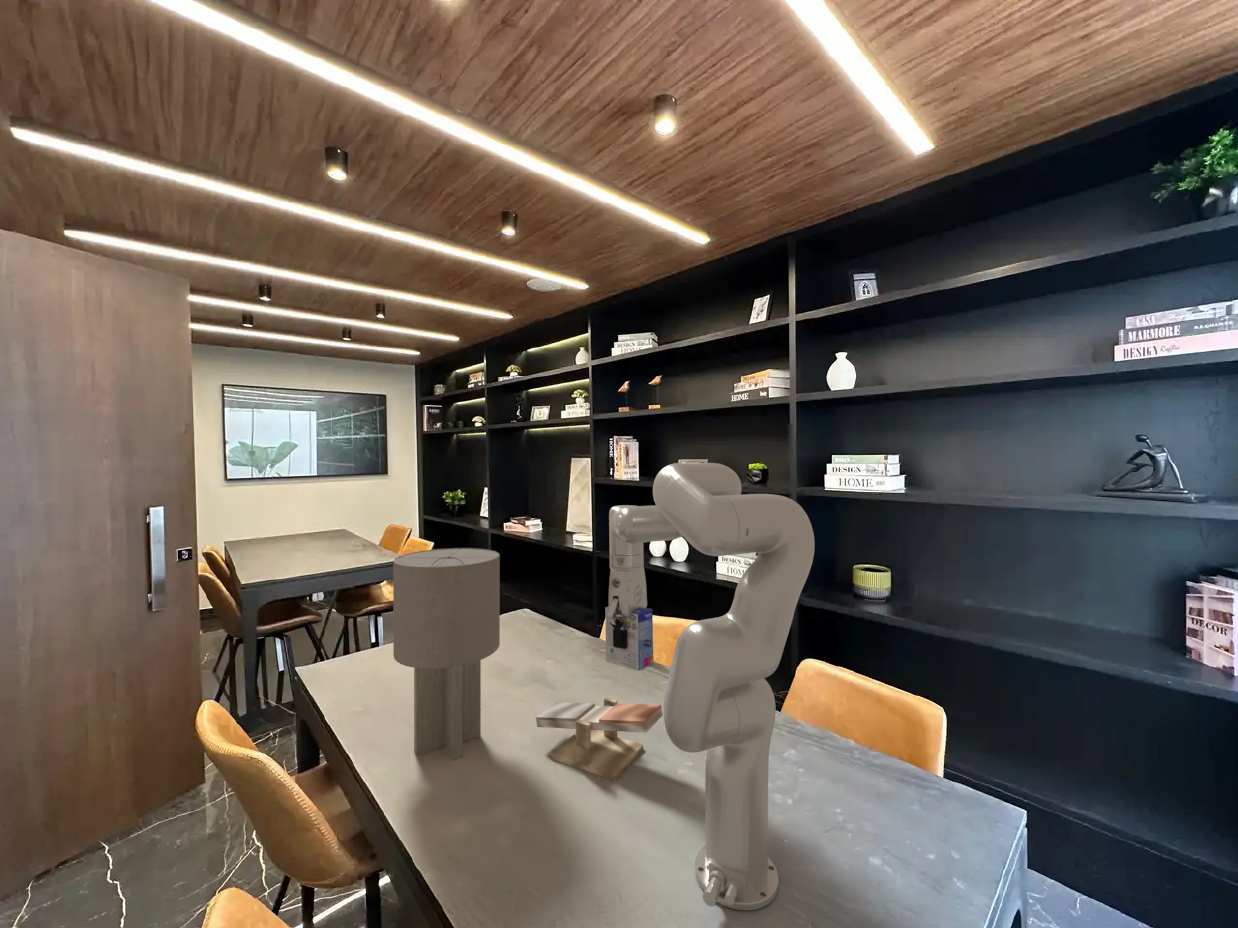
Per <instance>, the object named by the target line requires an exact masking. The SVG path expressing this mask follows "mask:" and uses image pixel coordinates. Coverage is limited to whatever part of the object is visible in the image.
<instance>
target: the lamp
mask: <svg viewBox="0 0 1238 928" xmlns="http://www.w3.org/2000/svg"><path fill="white" fill-rule="evenodd" d="M500 556H501V555H500V553H499V552H497V551H495V550H491V549H486V548H475V547H474V548H473V547H453V548H435V549H428V550H427V549H425V550H421V551H413V552H409V553H405V554H402V555H399V556H398V557H395V558H394V559H393V568H392V569H393V571H392V573H393V578H392V579H393V580H392V581H393V590H392V591H393V599H392V600H393V607H392V608H393V610H392V611H393V615H392V616H393V617H392V619H393V620H392V621H393V631H392V632H393V638H392V639H393V648H392V649H393V654H392V655H393V659H394V660H395V661H396V662H397V663H398V664H400V665H402V666H405V667H409V668H413V669H414V670H413V705H414V706H413V708H414V710H413V721H414V723H413V726H414V727H413V730H414V731H413V732H414V733H413V734H414V735H413V745H414V746H413V752H414V753H415V755H416V756H417V757H418V756H420V755H423V754H427V753H430V752H434V751H436V750H441V749H443V748H444V749H445V750H446V752H447V754H448V756H449V758H450V759H451V761H454V760H458V759H460V758H463V743H464V742H466V741H470V740H473V739H476V738H480V737H481V736H482V735H481V734H482V733H481V729H482V728H481V727H482V726H481V722H482V721H481V720H482V718H481V715H482V714H481V713H482V712H481V710H482V708H481V704H482V703H481V697H482V695H481V691H482V689H481V685H482V684H481V683H482V682H481V681H482V680H481V679H482V678H481V675H482V674H481V672H482V669H481V668H482V667H481V662H482V660H484V659H486V658H488V657H490V656H491V655H492V654H494V653H495V652H497V650H498V649H499V648H500V644H501V643H500V637H501V635H500V631H501V630H500V629H501V628H500V627H501V626H500V625H501V624H500V620H501V619H500V616H501V615H500V614H501V612H500V611H501V610H500V608H501V607H500V605H501V604H500V603H501V601H500V598H501V597H500V595H501V593H500V591H501V590H500V589H501V588H500V587H501V586H500V585H501V584H500V583H501V582H500V581H501V580H500V579H501V578H500V577H501V575H500V569H501V565H500V562H501V561H500V560H501V559H500V558H501V557H500Z"/></svg>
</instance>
